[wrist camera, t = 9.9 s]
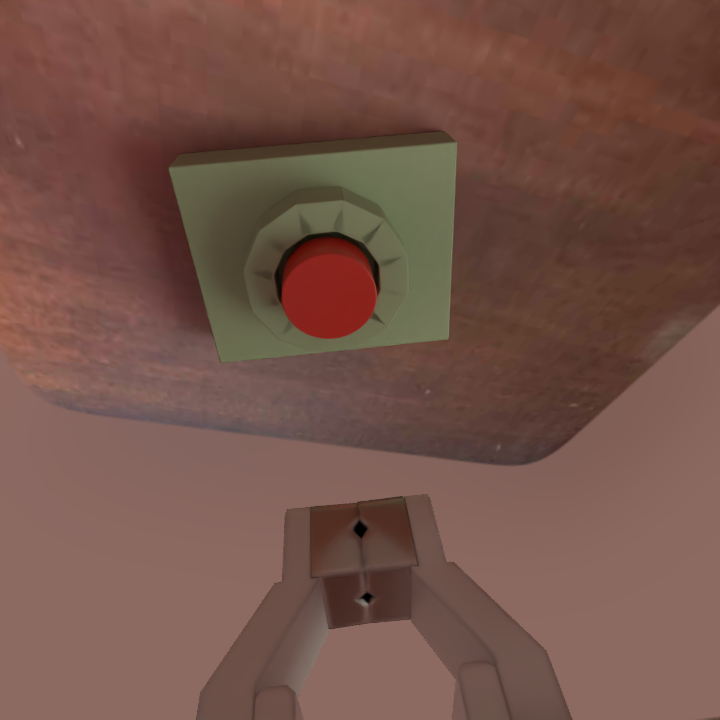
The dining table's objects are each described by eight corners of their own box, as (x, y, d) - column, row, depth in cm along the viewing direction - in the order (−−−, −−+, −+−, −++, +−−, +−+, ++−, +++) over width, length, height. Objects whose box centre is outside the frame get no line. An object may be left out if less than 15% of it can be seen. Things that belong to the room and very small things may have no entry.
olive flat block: (225, 339, 26) (214, 386, 23) (178, 153, 21) (156, 180, 17) (438, 317, 26) (458, 360, 23) (444, 130, 21) (471, 152, 18)
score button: (289, 321, 21) (288, 344, 20) (276, 240, 19) (274, 258, 18) (373, 313, 22) (379, 334, 20) (369, 231, 20) (375, 249, 18)
